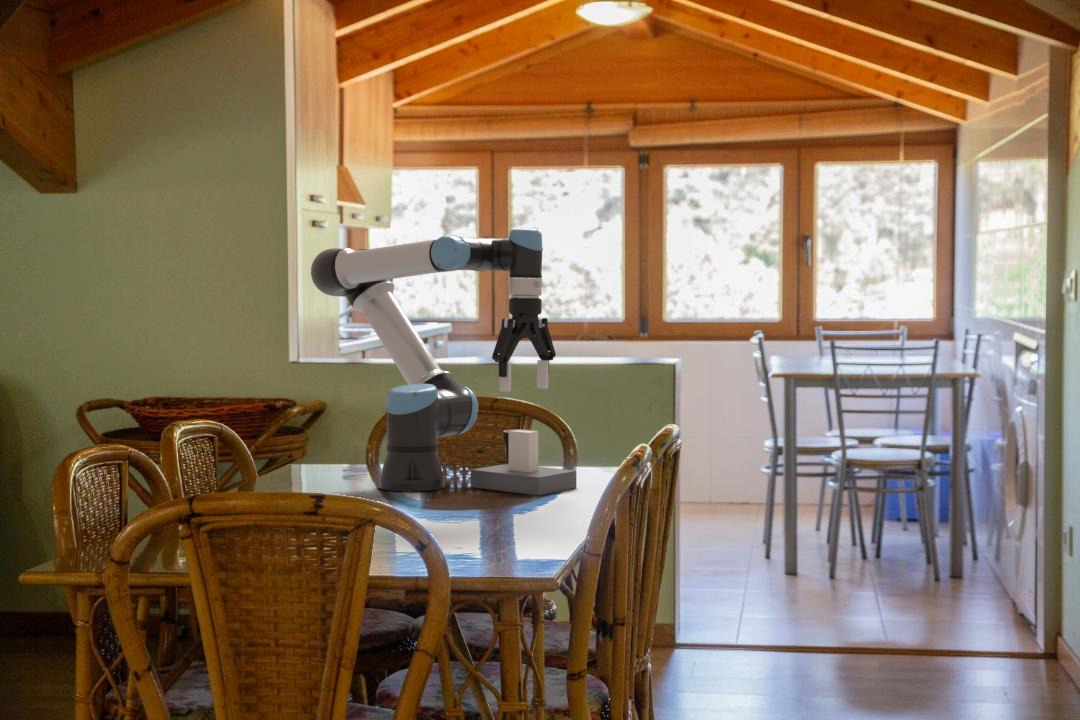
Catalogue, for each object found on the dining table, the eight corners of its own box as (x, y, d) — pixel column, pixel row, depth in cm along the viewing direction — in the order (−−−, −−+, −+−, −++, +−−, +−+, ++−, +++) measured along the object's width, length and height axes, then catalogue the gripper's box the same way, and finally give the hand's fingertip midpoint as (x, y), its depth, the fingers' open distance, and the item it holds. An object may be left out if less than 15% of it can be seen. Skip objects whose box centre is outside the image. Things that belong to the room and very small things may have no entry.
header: (470, 486, 300) (470, 469, 300) (509, 480, 311) (509, 463, 311) (538, 495, 288) (538, 477, 287) (576, 488, 299) (576, 470, 298)
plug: (508, 485, 300) (508, 431, 299) (518, 484, 302) (518, 429, 302) (528, 488, 296) (528, 432, 295) (538, 486, 299) (538, 431, 298)
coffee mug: (512, 467, 333) (512, 428, 333) (543, 469, 329) (543, 430, 329) (491, 473, 323) (491, 433, 322) (522, 475, 319) (522, 434, 318)
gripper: (502, 297, 284) (501, 394, 286) (571, 297, 304) (570, 387, 305) (476, 296, 289) (476, 391, 290) (546, 296, 309) (545, 386, 310)
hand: (524, 390), depth 298 cm, fingers open, 13 cm apart
